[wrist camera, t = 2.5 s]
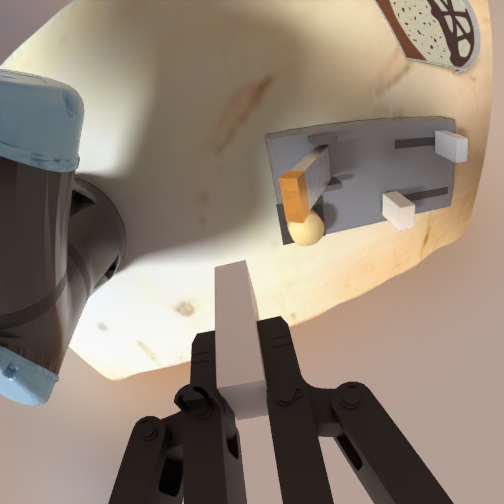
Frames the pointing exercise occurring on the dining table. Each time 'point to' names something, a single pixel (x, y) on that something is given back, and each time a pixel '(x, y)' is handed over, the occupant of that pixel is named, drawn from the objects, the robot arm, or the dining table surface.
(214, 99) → the dining table surface
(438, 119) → the panel
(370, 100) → the dining table surface
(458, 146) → the grey slider
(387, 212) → the cream slider
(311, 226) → the button
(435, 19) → the food container
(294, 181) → the lever
